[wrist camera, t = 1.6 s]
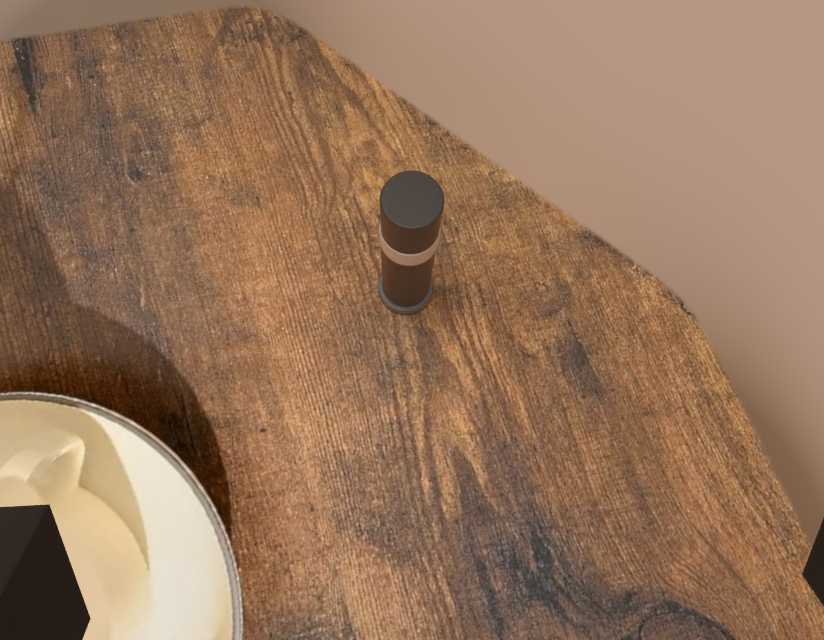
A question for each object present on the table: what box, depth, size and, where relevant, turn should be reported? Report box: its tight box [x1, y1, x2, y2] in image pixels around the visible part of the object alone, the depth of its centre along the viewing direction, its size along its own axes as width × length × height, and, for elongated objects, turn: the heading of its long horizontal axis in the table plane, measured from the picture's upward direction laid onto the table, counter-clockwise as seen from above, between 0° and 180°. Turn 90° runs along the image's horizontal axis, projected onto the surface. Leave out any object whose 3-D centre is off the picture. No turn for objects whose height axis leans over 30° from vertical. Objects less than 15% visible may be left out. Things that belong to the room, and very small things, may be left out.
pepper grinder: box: [378, 171, 444, 314], centre depth 29 cm, size 3×3×10 cm
